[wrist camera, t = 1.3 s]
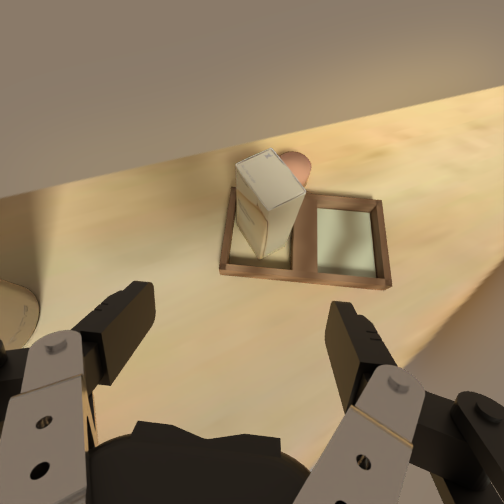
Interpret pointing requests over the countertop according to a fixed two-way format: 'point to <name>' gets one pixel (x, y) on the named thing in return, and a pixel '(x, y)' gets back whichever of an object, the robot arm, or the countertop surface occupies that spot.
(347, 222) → the walnut organizer
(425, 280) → the countertop surface
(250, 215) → the skincare box
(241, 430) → the countertop surface
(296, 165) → the pinkish brown rounded piece
